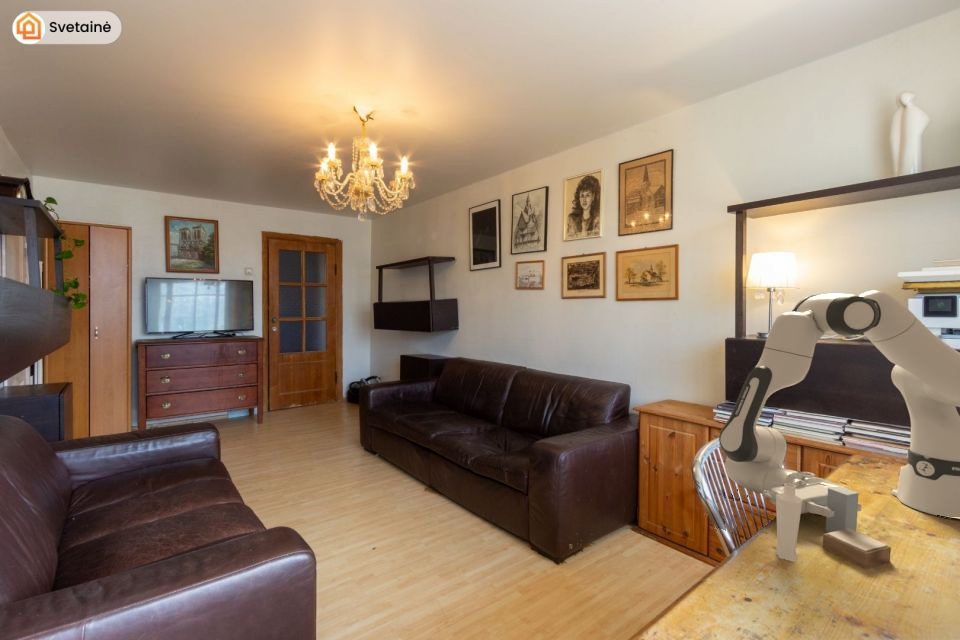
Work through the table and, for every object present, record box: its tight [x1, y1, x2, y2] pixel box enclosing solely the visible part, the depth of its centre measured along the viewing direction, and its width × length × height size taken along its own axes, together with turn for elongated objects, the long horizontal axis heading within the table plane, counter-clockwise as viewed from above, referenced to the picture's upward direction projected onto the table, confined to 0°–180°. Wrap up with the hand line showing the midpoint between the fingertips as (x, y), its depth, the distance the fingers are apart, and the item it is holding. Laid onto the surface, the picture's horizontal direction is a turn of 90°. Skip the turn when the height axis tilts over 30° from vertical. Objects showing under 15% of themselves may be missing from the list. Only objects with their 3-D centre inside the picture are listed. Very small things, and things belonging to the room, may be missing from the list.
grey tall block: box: [825, 485, 860, 533], centre depth 104 cm, size 4×4×10 cm
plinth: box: [822, 528, 892, 569], centre depth 95 cm, size 8×8×3 cm
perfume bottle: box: [774, 483, 802, 563], centre depth 93 cm, size 5×4×15 cm
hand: (846, 511), depth 103 cm, fingers open, 8 cm apart
